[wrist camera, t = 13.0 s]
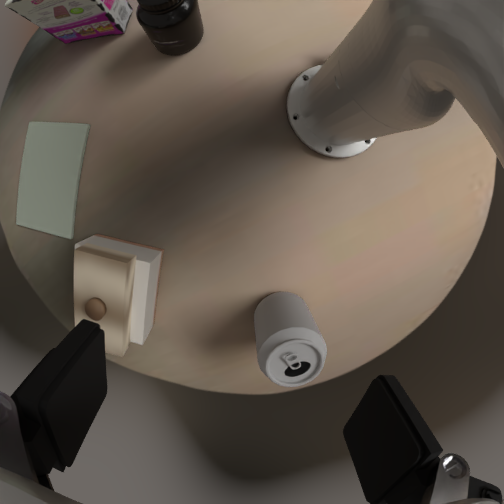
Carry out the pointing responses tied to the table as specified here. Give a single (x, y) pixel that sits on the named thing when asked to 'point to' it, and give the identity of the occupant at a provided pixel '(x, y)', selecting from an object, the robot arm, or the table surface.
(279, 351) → the can
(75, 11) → the candy bar box
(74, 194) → the mat
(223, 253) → the table surface
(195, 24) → the supplement bottle
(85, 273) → the lid
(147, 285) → the gray block
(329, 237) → the table surface
